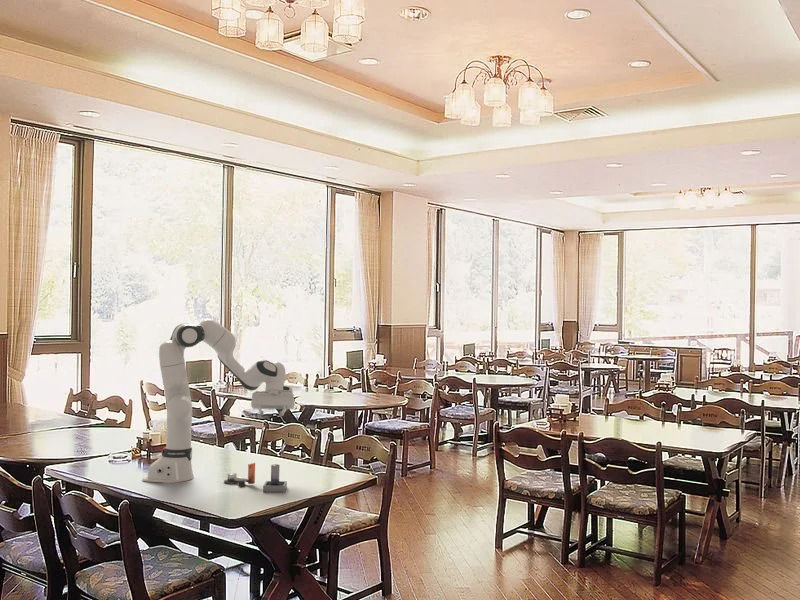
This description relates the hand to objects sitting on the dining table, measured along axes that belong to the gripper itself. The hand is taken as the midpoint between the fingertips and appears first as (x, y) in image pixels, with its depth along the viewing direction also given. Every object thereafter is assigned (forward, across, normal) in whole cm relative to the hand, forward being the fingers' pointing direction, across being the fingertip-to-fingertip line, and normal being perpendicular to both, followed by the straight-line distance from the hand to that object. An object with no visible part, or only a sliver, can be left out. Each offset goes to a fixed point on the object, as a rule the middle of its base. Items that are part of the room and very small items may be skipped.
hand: (271, 414), depth 356 cm
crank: (+29, -12, +11) cm, 33 cm away
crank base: (+28, -16, +14) cm, 35 cm away
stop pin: (+37, +5, +4) cm, 37 cm away
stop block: (+33, -11, +9) cm, 35 cm away
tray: (+37, +5, +4) cm, 38 cm away
